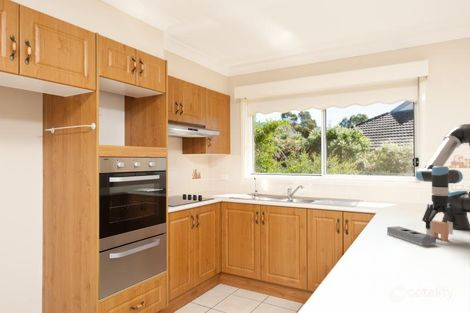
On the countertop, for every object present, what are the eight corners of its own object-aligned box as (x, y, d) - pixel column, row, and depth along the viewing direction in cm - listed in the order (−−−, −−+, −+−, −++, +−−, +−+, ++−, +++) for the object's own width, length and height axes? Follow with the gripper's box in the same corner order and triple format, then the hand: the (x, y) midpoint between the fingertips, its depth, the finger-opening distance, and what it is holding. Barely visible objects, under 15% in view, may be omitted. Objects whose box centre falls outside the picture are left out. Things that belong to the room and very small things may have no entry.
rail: (399, 233, 175) (399, 226, 175) (435, 245, 152) (435, 237, 152) (387, 234, 173) (387, 226, 173) (422, 246, 150) (422, 237, 150)
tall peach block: (435, 236, 169) (435, 220, 169) (448, 240, 161) (448, 223, 161) (430, 236, 168) (431, 220, 168) (443, 240, 160) (444, 223, 160)
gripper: (452, 193, 171) (451, 231, 171) (414, 194, 165) (414, 233, 165) (465, 195, 164) (464, 235, 164) (426, 196, 158) (426, 237, 158)
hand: (439, 234), depth 165 cm, fingers open, 13 cm apart
